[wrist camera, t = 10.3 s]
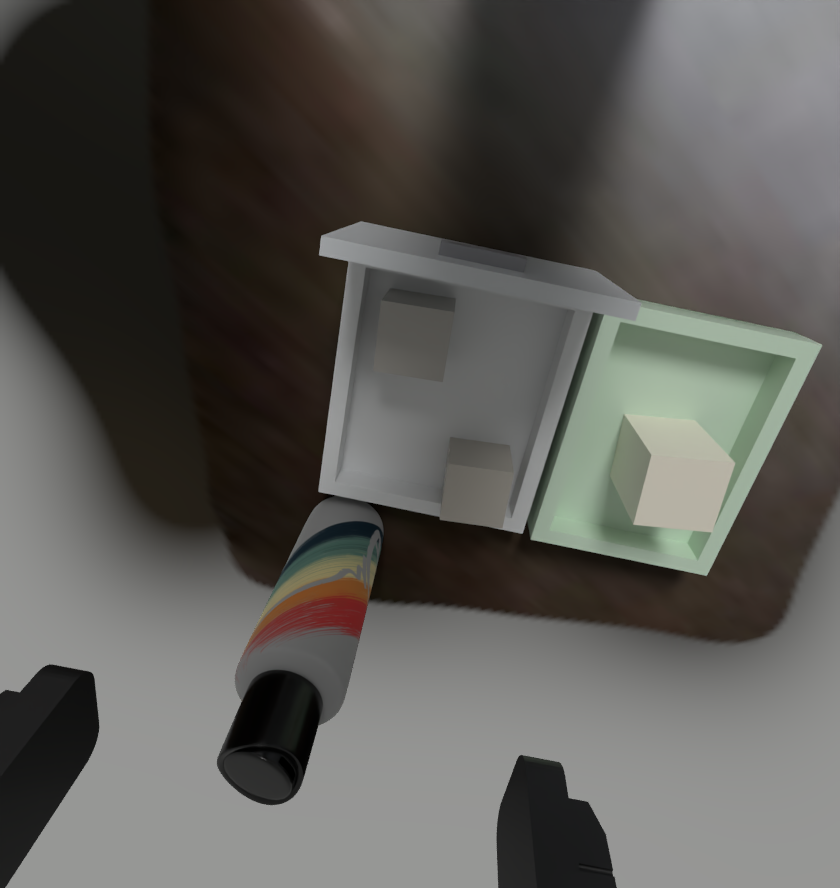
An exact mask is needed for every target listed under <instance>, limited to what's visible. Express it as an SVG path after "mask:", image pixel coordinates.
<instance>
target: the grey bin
mask: <svg viewBox="0 0 840 888" xmlns="http://www.w3.org/2000/svg"><path fill="white" fill-rule="evenodd" d="M390 288H394V289H400V290H406V291H413V292H419V293H425V294H431V295H437V296H444V297H450V298H456V304H455V312H454V318H453V324H452V330H451V336H450V342H449V348H448V354H447V360H446V366H445V372H444V378H443V382H438V381H432V380H426V379H420V378H414V377H407V376H401V375H395V374H389V373H383V372H377V371H373V368H374V359H375V350H376V341H377V332H378V324H379V315H380V306H381V300H382V299H383V297H384V296H385V295H386V293H387V292H388V291H389V289H390ZM592 314H593V312H589V311H584V310H580V309H575V308H570V307H565V306H560V305H556V304H551V303H546V302H541V301H536V300H532V299H527V298H522V297H517V296H513V295H508V294H503V293H498V292H493V291H489V290H484V289H479V288H474V287H469V286H465V285H460V284H455V283H450V282H445V281H441V280H436V279H431V278H426V277H422V276H417V275H412V274H407V273H402V272H398V271H393V270H388V269H383V268H378V267H374V266H369V265H364V264H359V263H355V262H350V261H349V263H348V270H347V278H346V285H345V293H344V301H343V308H342V316H341V323H340V331H339V339H338V346H337V354H336V361H335V369H334V377H333V384H332V392H331V399H330V407H329V415H328V422H327V430H326V437H325V445H324V453H323V460H322V468H321V475H320V483H319V491H318V492H322V493H326V494H331V495H336V496H341V497H346V498H351V499H356V500H361V501H365V502H370V503H375V504H380V505H385V506H390V507H395V508H399V509H404V510H409V511H414V512H419V513H424V514H429V515H433V516H438V517H440V509H441V497H442V487H443V481H444V474H445V467H446V461H447V454H448V447H449V441H450V437H453V438H460V439H467V440H475V441H482V442H489V443H497V444H504V445H510V450H511V457H512V463H513V470H514V475H513V480H512V485H511V489H510V494H509V499H508V504H507V509H506V513H505V518H504V523H503V528H502V530H506V531H511V532H516V533H521V534H523V531H524V528H525V525H526V521H527V518H528V515H529V512H530V509H531V506H532V503H533V499H534V496H535V493H536V490H537V487H538V484H539V481H540V478H541V474H542V471H543V468H544V465H545V462H546V459H547V456H548V452H549V449H550V446H551V443H552V440H553V437H554V434H555V430H556V427H557V424H558V421H559V418H560V415H561V412H562V408H563V405H564V402H565V399H566V396H567V393H568V390H569V386H570V383H571V380H572V377H573V374H574V371H575V368H576V365H577V361H578V358H579V355H580V352H581V349H582V346H583V343H584V339H585V336H586V333H587V330H588V327H589V324H590V321H591V317H592ZM492 528H494V527H492ZM497 529H501V528H497Z"/></svg>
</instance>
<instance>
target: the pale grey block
mask: <svg viewBox="0 0 840 888" xmlns="http://www.w3.org/2000/svg"><path fill="white" fill-rule="evenodd" d="M513 475H514V470H513V463H512V457H511V450H510V445H504V444H497V443H489V442H482V441H475V440H467V439H460V438H453V437H450V441H449V447H448V454H447V461H446V467H445V474H444V481H443V487H442V497H441V509H440V520H444V521H452V522H459V523H466V524H473V525H480V526H487V527H494V528H501V529H502V528H503V523H504V518H505V513H506V509H507V504H508V499H509V494H510V489H511V485H512V480H513Z"/></svg>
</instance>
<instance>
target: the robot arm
mask: <svg viewBox="0 0 840 888" xmlns="http://www.w3.org/2000/svg"><path fill="white" fill-rule="evenodd" d="M98 733H99V719H98V709H97V699H96V690H95V680H94V676H93V674H92V673H91V672H88V671H83V670H77V669H72V668H67V667H62V666H57V665H47V666H45V667H43V668H42V669H41V670H40V671H39V672H38V673H37V674H36V675H35V676H34V677H33V678H32V679H31V681H30V682H29V683H28V684H27V685H26V686H25V687H24V688H23V690H22V691H21V692H20V693H19V692H14V691H9V690H5V691H4V692H2V693H1V694H0V888H5V887H6V886H7V884H8V883H9V881H10V879H11V878H12V876H13V875H14V873H15V872H16V870H17V869H18V867H19V866H20V864H21V863H22V861H23V859H24V858H25V857H26V855H27V853H28V852H29V850H30V849H31V847H32V846H33V844H34V843H35V841H36V840H37V838H38V836H39V835H40V834H41V832H42V831H43V829H44V827H45V826H46V824H47V823H48V821H49V820H50V818H51V817H52V815H53V814H54V812H55V811H56V809H57V808H58V806H59V804H60V803H61V802H62V800H63V798H64V797H65V795H66V794H67V792H68V791H69V789H70V787H71V786H72V785H73V783H74V781H75V780H76V779H77V777H78V775H79V774H80V772H81V771H82V769H83V768H84V766H85V765H86V763H87V762H88V760H89V758H90V756H91V754H92V752H93V749H94V747H95V744H96V741H97V737H98ZM497 861H498V862H497V863H498V888H617V887H616V883H615V878H614V877H613V874H612V871H613V868H612V863H611V858H610V854H609V848H608V844H607V839H606V834H605V832H604V830H603V829H602V827H601V825H600V823H599V821H598V819H597V818H596V816H595V814H594V812H593V810H592V808H591V807H590V805H589V803H588V802H585V801H580V800H575V799H570V798H568V792H567V786H566V780H565V774H564V770H563V767H562V765H561V763H559V762H555V761H550V760H544V759H539V758H534V757H528V756H523V755H520V756H519V757H518V759H517V761H516V764H515V767H514V769H513V772H512V775H511V778H510V780H509V783H508V786H507V789H506V791H505V794H504V796H503V799H502V802H501V806H500V810H499V815H498V823H497Z"/></svg>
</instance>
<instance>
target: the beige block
mask: <svg viewBox="0 0 840 888" xmlns="http://www.w3.org/2000/svg"><path fill="white" fill-rule="evenodd" d="M734 466H735V462H734V461H733V460H732V459H731V458H730V457H729V456H728V454H727V453H726V452H725V451H724V450H723V449H722V448H721V447H720V446H719V445H718V444H717V443H716V442H715V441H714V440H713V439H712V438H711V437H710V436H709V434H708V433H707V432H706V431H705V430H704V429H703V428H702V427H701V426H700V425H699V424H698V423H697V422H696V421H695V420H685V419H674V418H663V417H652V416H641V415H630V414H624V417H623V421H622V425H621V430H620V434H619V438H618V442H617V447H616V451H615V455H614V460H613V464H612V468H611V473H610V477H611V479H612V481H613V483H614V486H615V488H616V490H617V492H618V494H619V496H620V498H621V500H622V502H623V504H624V506H625V509H626V511H627V513H628V515H629V517H630V519H631V521H632V523H633V525H641V526H651V527H661V528H671V529H681V530H691V531H702V532H713V529H714V526H715V523H716V520H717V517H718V514H719V511H720V508H721V505H722V502H723V499H724V496H725V493H726V490H727V487H728V484H729V481H730V478H731V475H732V472H733V469H734Z"/></svg>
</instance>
